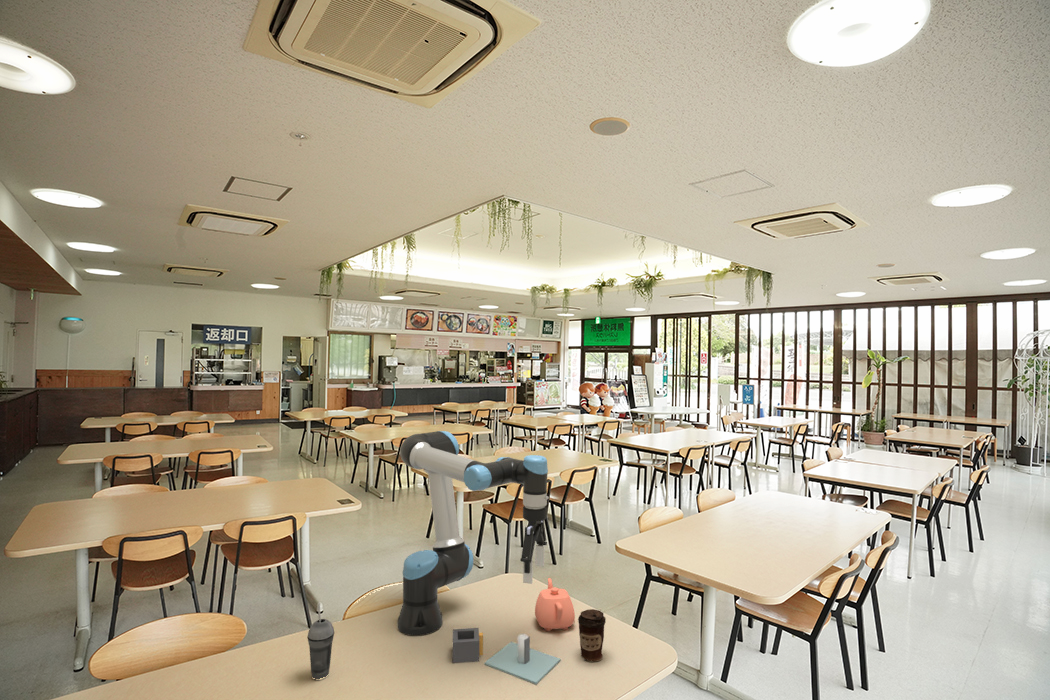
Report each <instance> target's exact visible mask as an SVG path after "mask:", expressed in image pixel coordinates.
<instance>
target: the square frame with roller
mask: <svg viewBox="0 0 1050 700" xmlns="http://www.w3.org/2000/svg"><path fill="white" fill-rule="evenodd" d="M479 630H480V629H479V627H470V628H454V629H452V664H458V663H462V664H463V663H475V662H480V656H483V655H484V633H483V632H480V631H479Z"/></svg>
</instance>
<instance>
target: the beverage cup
mask: <svg viewBox="0 0 1050 700" xmlns="http://www.w3.org/2000/svg"><path fill="white" fill-rule="evenodd" d="M320 604H321V603H317V610H318V612H317V613H318V619H317V620H316V621H314V622H313V623H312V624H311V625H310V627H309V629H308V632H307V637H306V639H307V642H308V648H309V657H310V658H309V660H310V661H309V662H310V672H311V678H312V677H313V678H315V679H320V678H323V677H326V676H327V675H328V674H329V675H330V668H331V659H332V657H331V656H332V648H333V641H334V636H335V630H334V626H333V623H332V622H331V621H330V620H328V619H327V618H326V619H325V618H322V617H321V605H320ZM329 675H328V676H329Z"/></svg>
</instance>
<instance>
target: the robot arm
mask: <svg viewBox="0 0 1050 700" xmlns="http://www.w3.org/2000/svg"><path fill="white" fill-rule="evenodd" d="M399 449H400V450H399V455H400V459H401V461H402V462H403V463H404V464H405V465H406V466H407V467H410V468H412V469H415V470H423V471H424V472H425V473H426V474H427V477H428V484H429V492H430V500H431V510H432V517H433V525H434V533H435V534H434V535H435V542H434V543H433V544H432V550H431V549H424V550H419V551H418V550H417V551H415V552H413V553H411V554H410V555H408V556H406V558H405V559H404V562H403V567H402V568H403V569H402V605H401V608H400V611H399V616H397V620H396V621H397V625H396V626H397V630H398V631H399V632H400V633H401V634H403V633H404V635H408V636H414V637H415V636H424V635H429V634H432V633H434V632H437V631H439V629H440V628H441V627H442V625H443V614H442V612H441V608H440V607H441V606H440V603H439V601H438V593H439V592H438V589H440V588H443V587H446V586H448V585H450V584H452V583H454V582H459V581H461V580H463V579H464V578H466V577H468V576H469V574H470V573H471V572H472V569H473V567H474V555H473V554H474V553H473V551H472V549H471V547H470V546H469V545H468V544H466V543H465V539H464V538H463V537H461V536H460V531H459V530H460V528H459V521H458V515H457V506H456V499H455V493H454V492H455V491H454V482H453V479H454V480H456V481H459V482H461V483H464V485H465V487H467V488H468V489H469V490H470V491H472V492H477V491H484V490H486V489H489V488H490V489H491V488H494V487H498V486H503V485H507V484H511V483H512V484H513V483H514V484H518V485H522V486H523V487H522V488H523V489H522V491H523V493H522V494H523V495H522V505H523V507H522V518H523V520H525V521H528V524H527V525H526V526H525V527H524V536H523V543H522V544H523V545H522V550H521V551H522V552H521V558H520V562H523V566H522V567H523V569H522V571H523V573H522V583H523V584H530V585H533V577H534V576H533V575H534V574H533V569H534V567H533V565H534V564H533V556H534V551H535V567H541V568H544V567H545V546H547V545H548V542H547V536H546V529H545V520H546V519H547V518H548V514H547V513H548V507H547V505H548V500H549V496H548V489H547V487H548V474H549V473H548V472H549V469H548V459H547V457H545V456H544V455H539V454H538V455H537V454H536V455H535V454H530V455H525V456H524V457H523V459H518V458H513V457H509V456H501V457H498V458H497V459H496V460H495V461H490V462H481V461H479V460H478V461H477V460H475V459H471V458H468V457H465V456H462V455H458V454H459V452H460V446H459V442H458V440H457V438H456V437H455V436H454V435H453V434H452V433H451V432H450V431H448V430H447V431H445V430H439V431H438V430H436V431H431V432H423V433H415V434H412V435H409V436H408V437H406V438H405V439H404V440H403V441H402V444H401V446H400V448H399Z"/></svg>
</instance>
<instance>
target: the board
mask: <svg viewBox="0 0 1050 700" xmlns="http://www.w3.org/2000/svg"><path fill="white" fill-rule="evenodd" d="M530 638H531V637H530V636H529V635H527V634H525V633H520V634H518V635H517V643H516V642H513V641H510V642H509V643H508V644H506V645H505V646H504V647H502V648H501V649H500V650H499V651H497V652H496V653H495V654H494V655H492V656H491V657H490V658H489V659H487V660H486V661H484V665H485V666H487V667H490V668H492V669H495V670H497V671H501V672H503V673H506V674H508V675H511V676H513V677H515V678H517V679H520V680H523V681H526V682H528V683H531V684H534V685H538V684H539V683H540V682H541V681H542V680H543V679H544V678H545V676H547V675H548V674H549V673H550V672H551V671H552V670H553V669H554V668H555V667H556V666H557V665H558V664H559V663H560V662H561V661H562V660H561V658H559V657H556V656H553V655H552V654H551V655H550V654H547V653H544V652H542V651H540V650H536V649H534V648H531V647H530V644H531V641H530V640H531V639H530Z"/></svg>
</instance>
